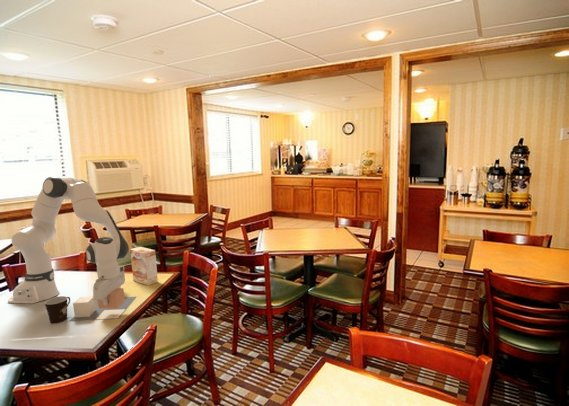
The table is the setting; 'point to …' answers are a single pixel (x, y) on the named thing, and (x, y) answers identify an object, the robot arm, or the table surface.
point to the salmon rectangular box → (113, 299)
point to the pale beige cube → (84, 307)
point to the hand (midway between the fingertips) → (111, 300)
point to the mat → (107, 311)
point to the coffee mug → (57, 309)
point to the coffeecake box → (144, 265)
